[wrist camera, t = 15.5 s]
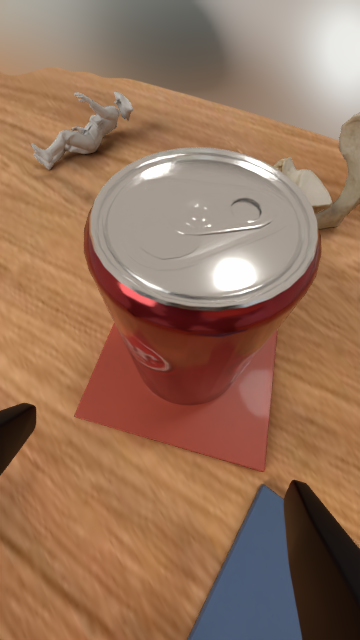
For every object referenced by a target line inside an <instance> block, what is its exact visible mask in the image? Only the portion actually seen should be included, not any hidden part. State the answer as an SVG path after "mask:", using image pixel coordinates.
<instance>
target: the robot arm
mask: <svg viewBox="0 0 360 640" xmlns="http://www.w3.org/2000/svg"><path fill="white" fill-rule="evenodd" d="M35 426H36V407H35V406H34V405H31V404H28V403H22V404H19V405H16V406H13V407H10V408H7V409H4V410H1V411H0V475H1V474H2V473H3V471H4V470H5V469H6V468H7V466H8V465H9V464H10V462H11V461H12V459H13V458H14V457H15V455H16V454H17V453H18V451H19V450H20V449H21V447H22V446H23V444H24V443H25V442H26V440H27V439H28V438H29V436H30V435H31V434H32V432H33V431H34V429H35ZM283 508H284V519H285V530H286V541H287V552H288V562H289V569H290V575H291V580H292V586H293V591H294V597H295V603H296V608H297V614H298V619H299V625H300V630H301V636H302V640H360V549H359V548H358V547H357V545H356V544H355V543H354V542H353V540H352V539H351V538H350V537H349V535H348V534H347V533H346V532H345V530H344V529H343V528H342V527H341V525H340V524H339V523H338V522H337V521H336V519H335V518H334V517H333V516H332V514H331V513H330V512H329V511H328V509H327V508H326V507H325V506H324V504H323V503H322V502H321V501H320V499H319V498H318V497H317V496H316V495H315V493H314V492H313V491H312V490H311V488H310V487H309V486H308V485H307V484H306V483H304V482H300V481H297V480H292V481H291V483H290V485H289V488H288V490H287V492H286V495H285V497H284V502H283Z"/></svg>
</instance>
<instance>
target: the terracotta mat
mask: <svg viewBox="0 0 360 640" xmlns="http://www.w3.org/2000/svg"><path fill="white" fill-rule="evenodd" d="M277 330H278V329H277ZM277 330H276V331H275V333H274V334H273V335H272V336H271V337H270V339H269V340H268V341H267V342H266V344H265V345H264V346H263V347H262V349H261V350H260V351H259V352H258V353H257V355H256V356H255V357H254V358H253V360H252V361H251V362H250V363H249V365H248V366H247V367H246V368H245V370H244V371H243V372H242V373H241V374H240V376H239V377H238V378H237V379H236V381H235V382H234V383H233V384H232V386H231V387H230V388H229V389H228V390H227V391H226V392H225V393H224V394H222V395H221V396H219V397H218V398H216V399H215V400H212V401H210V402H207V403H205V404H199V405H193V406H191V405H179V404H175V403H170V402H168V401H166V400H164V399H162V398H160V397H159V396H157V395H156V394H155V393H153V392H152V391H151V390H150V389H149V388H148V387H147V386H146V385H145V383H144V382H143V380H142V378H141V377H140V375H139V373H138V371H137V369H136V367H135V365H134V363H133V361H132V358H131V356H130V354H129V352H128V350H127V348H126V346H125V344H124V342H123V340H122V338H121V336H120V333H119V331H118V329H117V327H116V325H115V323H114V324H113V327H112V329H111V331H110V334H109V336H108V338H107V341H106V343H105V345H104V348H103V350H102V352H101V355H100V357H99V359H98V362H97V364H96V366H95V369H94V371H93V373H92V376H91V378H90V380H89V383H88V385H87V387H86V389H85V392H84V394H83V396H82V399H81V401H80V403H79V406H78V408H77V410H76V413H75V415H74V416H75V417H77V418H81V419H84V420H88V421H91V422H94V423H98V424H101V425H105V426H108V427H111V428H115V429H118V430H122V431H125V432H128V433H132V434H135V435H139V436H142V437H145V438H149V439H152V440H156V441H159V442H163V443H166V444H169V445H173V446H176V447H180V448H183V449H186V450H190V451H193V452H197V453H200V454H203V455H207V456H210V457H214V458H217V459H220V460H224V461H227V462H231V463H234V464H237V465H241V466H244V467H248V468H251V469H254V470H258V471H261V472H264V470H265V459H266V449H267V438H268V427H269V416H270V405H271V395H272V384H273V373H274V362H275V351H276V341H277Z"/></svg>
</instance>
